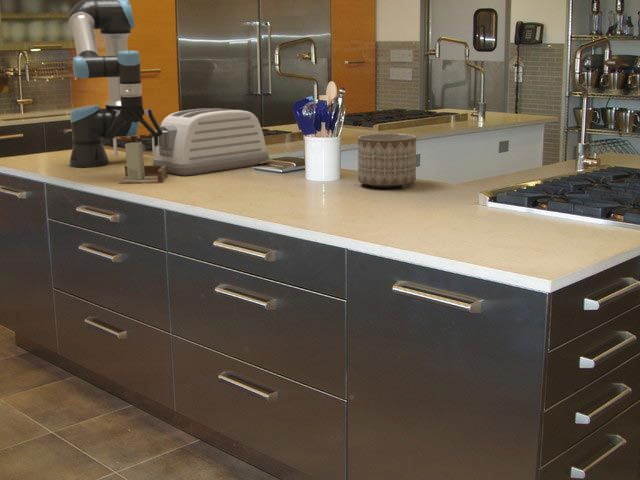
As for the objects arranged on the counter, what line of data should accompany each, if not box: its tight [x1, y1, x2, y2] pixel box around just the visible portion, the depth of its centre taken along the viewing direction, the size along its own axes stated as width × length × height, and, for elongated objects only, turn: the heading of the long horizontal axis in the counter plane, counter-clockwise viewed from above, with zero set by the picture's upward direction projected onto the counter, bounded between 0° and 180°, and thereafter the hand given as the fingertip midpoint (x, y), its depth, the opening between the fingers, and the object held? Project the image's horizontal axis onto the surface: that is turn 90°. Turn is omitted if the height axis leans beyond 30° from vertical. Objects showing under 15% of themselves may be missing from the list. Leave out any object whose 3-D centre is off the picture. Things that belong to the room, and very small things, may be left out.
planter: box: [357, 132, 417, 189], centre depth 297 cm, size 19×19×16 cm
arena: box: [118, 164, 168, 185], centre depth 319 cm, size 15×15×4 cm
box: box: [124, 141, 145, 180], centre depth 317 cm, size 5×4×13 cm
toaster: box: [152, 107, 270, 177], centre depth 343 cm, size 23×45×22 cm, turn 133°
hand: (135, 155), depth 317 cm, fingers open, 13 cm apart
